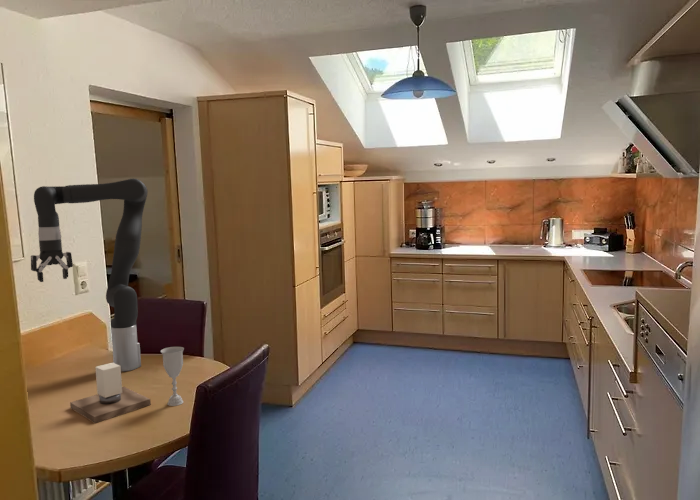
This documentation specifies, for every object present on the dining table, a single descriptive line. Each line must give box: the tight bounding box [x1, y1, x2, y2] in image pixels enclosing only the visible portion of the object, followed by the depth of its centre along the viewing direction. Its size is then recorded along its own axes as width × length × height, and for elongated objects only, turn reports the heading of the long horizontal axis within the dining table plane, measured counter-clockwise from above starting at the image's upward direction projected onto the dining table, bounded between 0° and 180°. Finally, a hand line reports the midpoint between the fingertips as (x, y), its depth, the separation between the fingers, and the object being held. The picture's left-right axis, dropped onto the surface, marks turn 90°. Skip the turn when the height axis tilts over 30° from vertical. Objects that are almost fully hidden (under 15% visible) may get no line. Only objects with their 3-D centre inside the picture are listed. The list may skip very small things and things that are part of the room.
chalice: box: [160, 346, 185, 407], centre depth 177 cm, size 7×7×18 cm
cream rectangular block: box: [94, 362, 123, 398], centre depth 175 cm, size 6×6×9 cm
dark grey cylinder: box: [99, 393, 121, 404], centre depth 175 cm, size 6×6×10 cm
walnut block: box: [69, 386, 151, 424], centre depth 176 cm, size 18×18×2 cm
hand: (53, 280), depth 209 cm, fingers open, 8 cm apart
